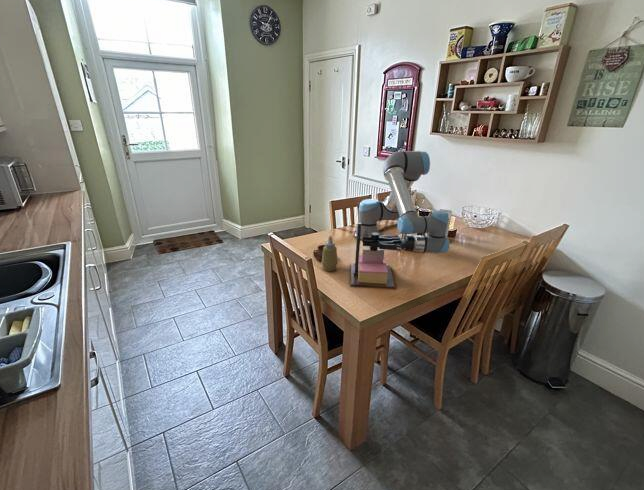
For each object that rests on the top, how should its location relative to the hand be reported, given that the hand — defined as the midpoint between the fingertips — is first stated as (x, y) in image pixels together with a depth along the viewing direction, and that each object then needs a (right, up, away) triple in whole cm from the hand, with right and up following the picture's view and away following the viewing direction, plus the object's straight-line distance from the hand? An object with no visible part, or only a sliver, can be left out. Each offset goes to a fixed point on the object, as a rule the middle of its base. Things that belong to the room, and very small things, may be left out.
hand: (362, 241), depth 153 cm
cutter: (+5, -10, +4) cm, 12 cm away
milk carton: (+56, +3, +54) cm, 78 cm away
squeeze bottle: (-15, -14, +14) cm, 25 cm away
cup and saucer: (-18, -8, +26) cm, 32 cm away
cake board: (+5, -17, +7) cm, 19 cm away
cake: (+5, -17, +7) cm, 19 cm away
